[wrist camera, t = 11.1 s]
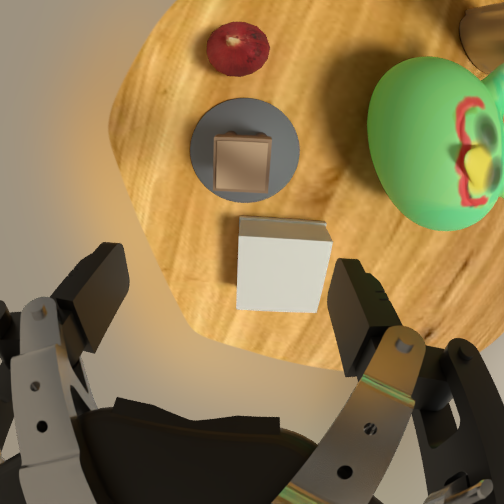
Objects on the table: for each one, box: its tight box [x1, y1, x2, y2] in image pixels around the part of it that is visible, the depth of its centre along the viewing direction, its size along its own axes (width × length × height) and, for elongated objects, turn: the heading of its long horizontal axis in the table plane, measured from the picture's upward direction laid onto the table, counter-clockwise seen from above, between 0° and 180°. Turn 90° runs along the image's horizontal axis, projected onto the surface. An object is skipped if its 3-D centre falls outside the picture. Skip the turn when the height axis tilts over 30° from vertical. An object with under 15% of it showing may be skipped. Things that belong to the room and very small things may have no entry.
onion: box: [207, 22, 270, 77], centre depth 21 cm, size 6×6×8 cm
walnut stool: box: [213, 131, 272, 194], centre depth 26 cm, size 5×5×7 cm
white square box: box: [236, 216, 333, 313], centre depth 34 cm, size 10×10×5 cm
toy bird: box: [367, 57, 504, 231], centre depth 21 cm, size 18×17×15 cm
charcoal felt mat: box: [190, 98, 300, 203], centre depth 30 cm, size 12×12×1 cm
